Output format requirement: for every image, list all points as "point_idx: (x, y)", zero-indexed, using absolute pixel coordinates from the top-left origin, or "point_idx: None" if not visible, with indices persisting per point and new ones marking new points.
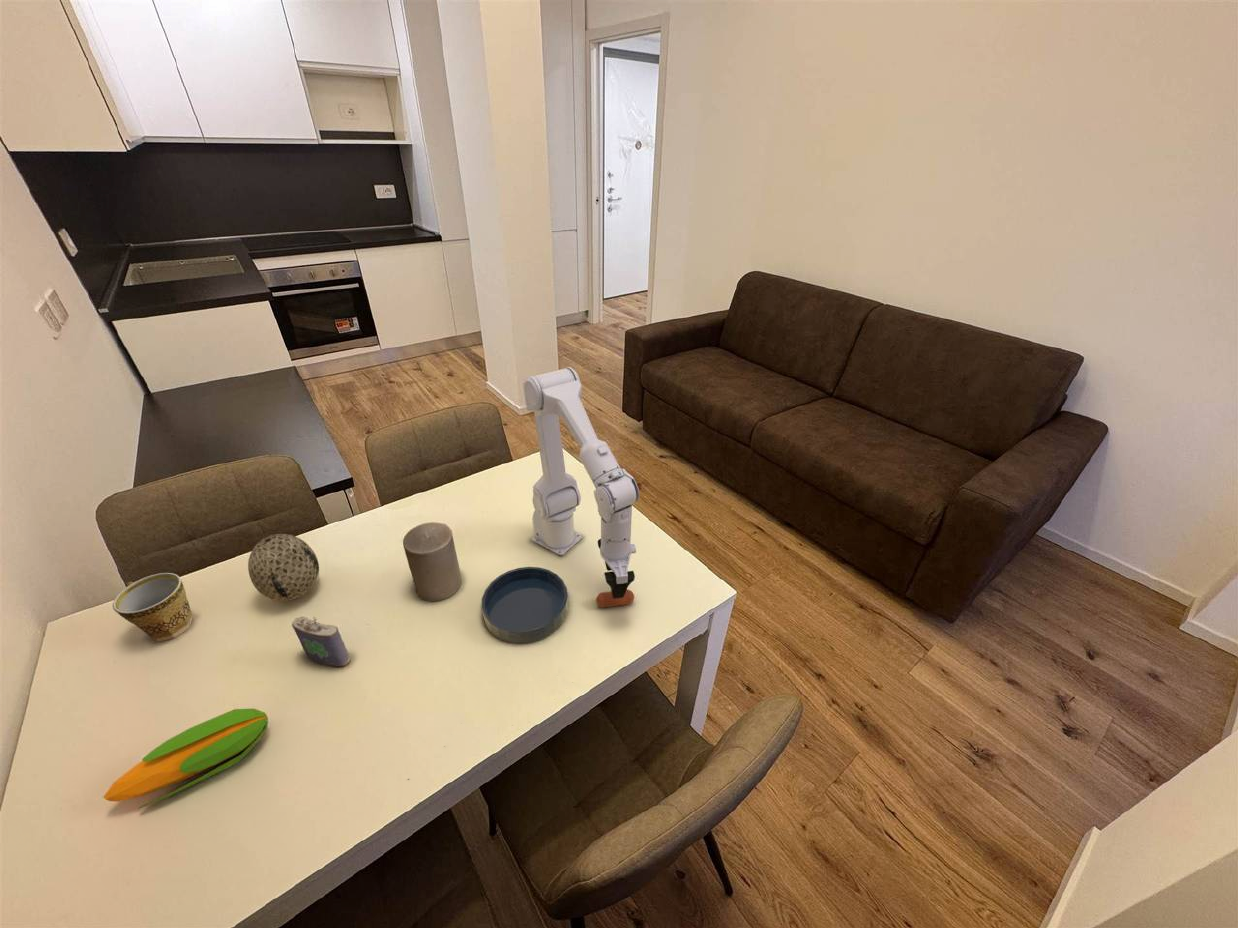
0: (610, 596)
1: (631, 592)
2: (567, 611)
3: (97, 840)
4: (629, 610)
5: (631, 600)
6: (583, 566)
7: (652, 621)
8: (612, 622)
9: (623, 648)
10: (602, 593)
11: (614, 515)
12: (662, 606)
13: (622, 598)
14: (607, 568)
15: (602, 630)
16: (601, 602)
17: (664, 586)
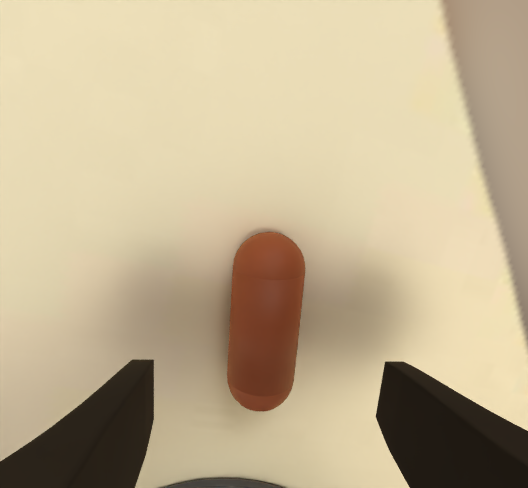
0: (280, 363)
1: (275, 253)
2: (259, 481)
3: None
4: (316, 258)
5: (301, 253)
6: (5, 404)
7: (402, 175)
8: (355, 336)
9: (477, 320)
10: (252, 397)
11: None
12: (337, 97)
13: (299, 304)
14: (148, 437)
15: (378, 376)
16: (288, 394)
17: (210, 34)
